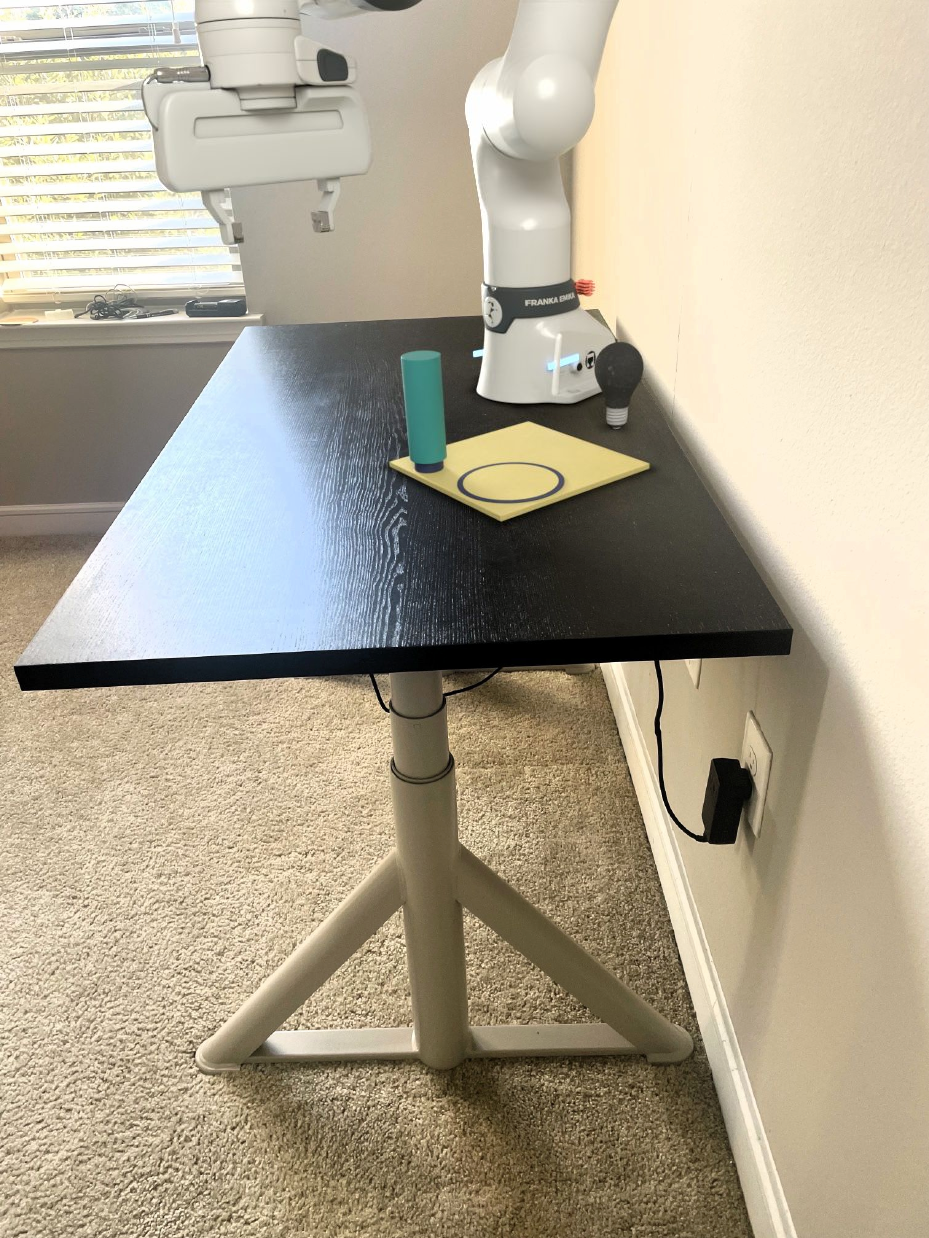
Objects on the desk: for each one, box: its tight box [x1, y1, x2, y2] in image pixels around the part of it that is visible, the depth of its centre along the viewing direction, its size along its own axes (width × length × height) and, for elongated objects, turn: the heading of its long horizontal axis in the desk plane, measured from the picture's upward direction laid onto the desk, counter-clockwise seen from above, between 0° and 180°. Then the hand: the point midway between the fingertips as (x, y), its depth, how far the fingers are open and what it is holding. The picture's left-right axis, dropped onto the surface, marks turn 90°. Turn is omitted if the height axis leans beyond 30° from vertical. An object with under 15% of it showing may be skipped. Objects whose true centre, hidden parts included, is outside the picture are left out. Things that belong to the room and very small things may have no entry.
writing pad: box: [388, 421, 650, 522], centre depth 93 cm, size 20×20×1 cm
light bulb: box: [594, 341, 644, 430], centre depth 100 cm, size 6×6×10 cm
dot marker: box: [400, 350, 447, 473], centre depth 90 cm, size 4×4×12 cm
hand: (280, 237), depth 82 cm, fingers open, 8 cm apart
